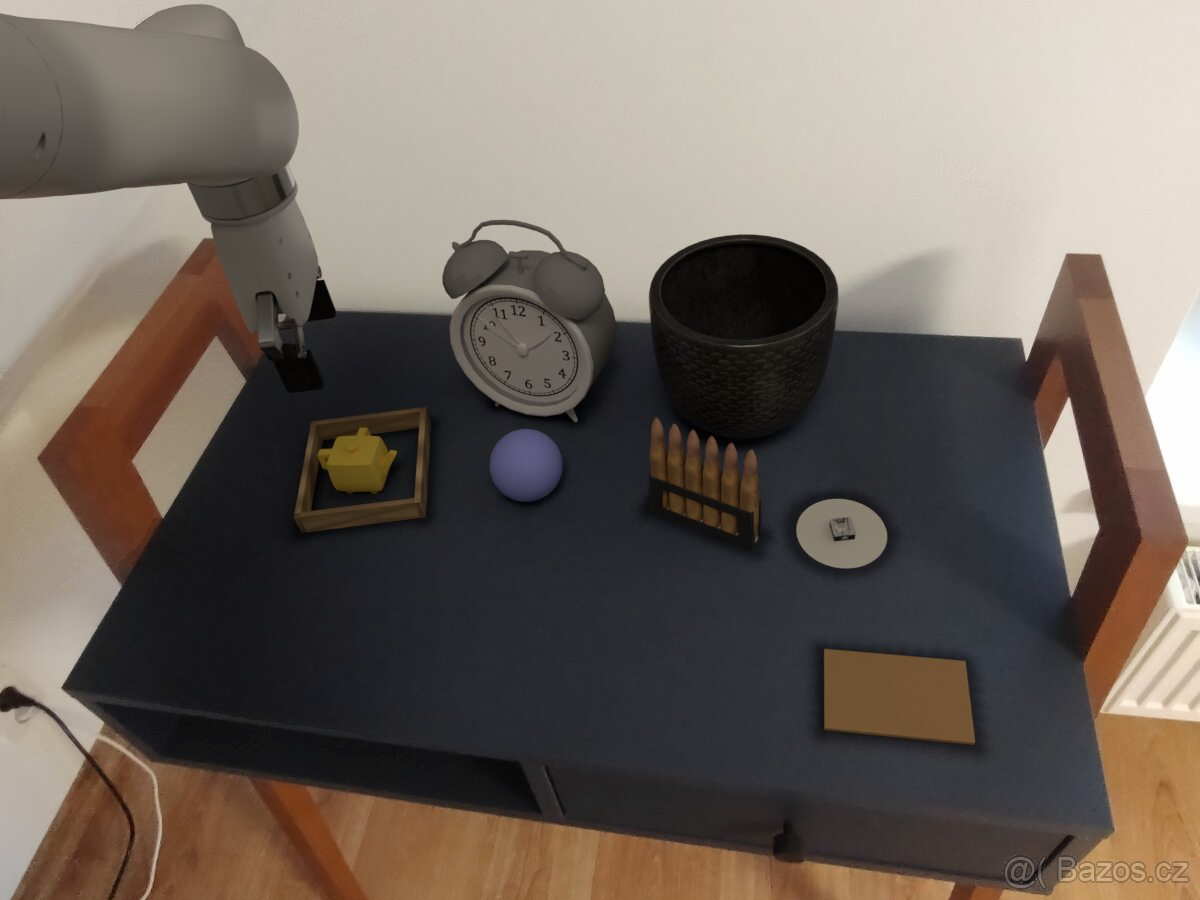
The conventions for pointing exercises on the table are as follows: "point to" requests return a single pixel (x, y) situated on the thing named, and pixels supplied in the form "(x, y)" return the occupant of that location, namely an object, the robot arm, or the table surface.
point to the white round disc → (841, 533)
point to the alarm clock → (528, 323)
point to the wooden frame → (372, 511)
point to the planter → (743, 332)
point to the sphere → (525, 465)
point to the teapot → (357, 462)
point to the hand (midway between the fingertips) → (313, 352)
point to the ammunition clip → (705, 487)
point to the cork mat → (897, 696)
